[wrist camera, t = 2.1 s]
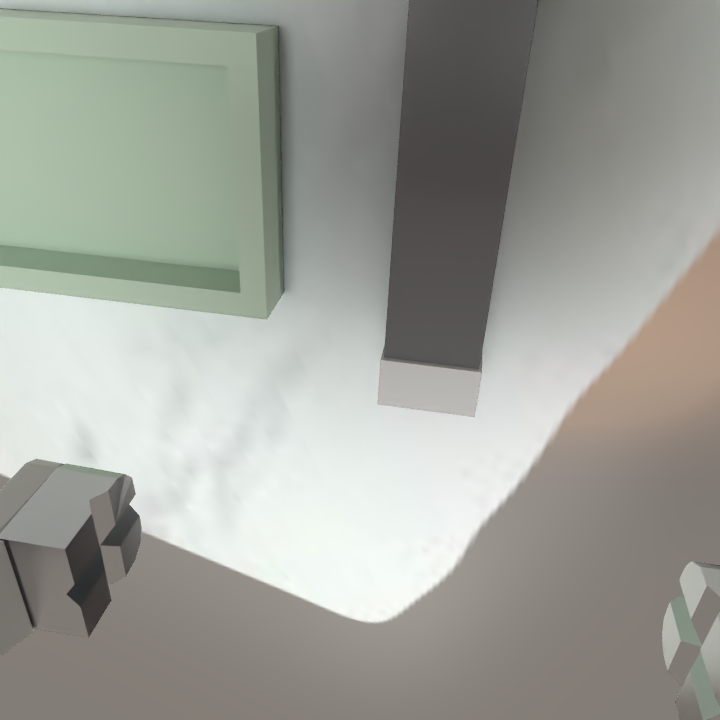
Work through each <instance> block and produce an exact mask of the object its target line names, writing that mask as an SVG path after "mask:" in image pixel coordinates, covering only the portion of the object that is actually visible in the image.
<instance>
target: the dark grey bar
mask: <svg viewBox="0 0 720 720" xmlns="http://www.w3.org/2000/svg"><path fill="white" fill-rule="evenodd" d="M537 6H538V0H409V10H408V24H407V38H406V52H405V67H404V81H403V95H402V109H401V124H400V138H399V152H398V166H397V181H396V195H395V209H394V224H393V238H392V252H391V266H390V281H389V295H388V309H387V323H386V338H385V346H384V350H383V353H382V357H381V363H380V377H379V392H378V404H380V405H388V406H395V407H403V408H411V409H418V410H426V411H433V412H441V413H448V414H456V415H463V416H471V417H475V411H476V405H477V399H478V393H479V387H480V381H481V374H482V348H483V342H484V336H485V330H486V323H487V317H488V311H489V305H490V298H491V292H492V286H493V280H494V274H495V267H496V261H497V255H498V249H499V242H500V236H501V230H502V224H503V218H504V211H505V205H506V199H507V193H508V186H509V180H510V174H511V168H512V161H513V155H514V149H515V143H516V137H517V130H518V124H519V118H520V112H521V105H522V99H523V93H524V87H525V81H526V74H527V68H528V62H529V56H530V49H531V43H532V37H533V31H534V25H535V18H536V12H537Z"/></svg>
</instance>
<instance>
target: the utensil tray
mask: <svg viewBox="0 0 720 720" xmlns="http://www.w3.org/2000/svg"><path fill="white" fill-rule="evenodd" d="M0 288H9V289H17V290H25V291H34V292H42V293H51V294H59V295H67V296H76V297H84V298H92V299H101V300H109V301H118V302H126V303H134V304H143V305H151V306H159V307H168V308H176V309H185V310H193V311H201V312H210V313H218V314H226V315H235V316H243V317H252V318H260V319H267V318H268V317H269V315H270V314H271V312H272V310H273V309H274V307H275V306H276V304H277V302H278V301H279V299H280V298H281V296H282V294H283V293H284V266H283V220H282V175H281V130H280V85H279V40H278V26H271V25H255V24H239V23H223V22H207V21H191V20H175V19H159V18H143V17H127V16H112V15H96V14H80V13H64V12H48V11H32V10H16V9H0Z"/></svg>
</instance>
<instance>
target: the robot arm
mask: <svg viewBox="0 0 720 720" xmlns="http://www.w3.org/2000/svg"><path fill="white" fill-rule="evenodd" d="M134 496H135V489H134V485H133V481H132V478H131V477H129V476H127V475H125V474H121V473H115V472H110V471H104V470H98V469H93V468H87V467H82V466H76V465H71V464H61V463H56V462H50V461H45V460H40V459H35V460H33V461H30V462H28V463H26V464H25V465H24V466H23V467H22V468H21V469H20V470H19V471H18V472H17V473H16V474H15V475H14V476H13V477H12V478H11V479H10V481H9V482H8V483H7V484H6V485H5V486H4V487H3V488H2V489H1V490H0V657H1V656H2V655H4V654H5V653H6V652H8V651H9V650H10V649H12V648H13V647H14V646H16V645H17V644H18V643H20V642H21V641H23V640H24V639H25V638H27V637H28V636H30V635H31V634H32V633H33V632H34V631H33V629H36V630H43V631H49V632H55V633H61V634H68V635H74V636H81V637H87V638H89V637H90V635H91V633H92V632H93V630H94V628H95V627H96V625H97V623H98V622H99V620H100V618H101V617H102V615H103V613H104V612H105V610H106V609H107V606H108V605H109V604H110V602H111V595H110V589H109V586H111V585H112V584H114V583H116V582H117V581H119V580H121V579H122V578H124V577H126V575H127V574H128V572H129V570H130V568H131V567H132V565H133V563H134V561H135V558H136V555H137V552H138V549H139V546H140V542H141V522H140V516H139V515H138V514H137V513H136V511H135V510H134V509H133V508H132V507H131V506H130V505H129V503H130V502H131V500H132V499H133V497H134ZM680 584H681V587H682V590H683V593H684V594H683V595H681V596H680V597H678V598H676V599H674V600H672V601H671V602H670V604H669V607H668V609H667V612H666V614H665V617H664V623H663V633H662V643H663V653H664V658H665V662H666V667H667V671H668V672H669V673H670V674H671V675H672V676H673V677H674V679H675V680H676V681H677V682H678V683H679V684H680V685H681V686H682V688H681V690H680V692H679V694H678V697H677V699H676V701H675V703H676V707H677V711H678V715H679V719H680V720H720V565H714V564H707V563H700V562H693V561H692V562H690V563H689V564H688V565H687V566H686V567H685V569H684V571H683V573H682V575H681V578H680Z"/></svg>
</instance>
